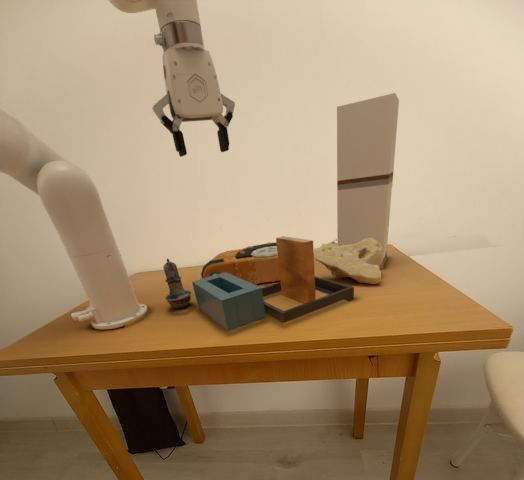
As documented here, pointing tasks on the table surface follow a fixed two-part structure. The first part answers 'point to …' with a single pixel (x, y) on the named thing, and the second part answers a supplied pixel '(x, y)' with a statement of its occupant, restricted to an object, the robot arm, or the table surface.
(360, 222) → the refrigerator
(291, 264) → the wooden plank block
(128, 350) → the table surface
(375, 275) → the beige rock
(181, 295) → the dark stone tower figurine
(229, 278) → the blue-grey slotted box
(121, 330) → the table surface
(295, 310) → the dark rectangular frame
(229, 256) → the device
